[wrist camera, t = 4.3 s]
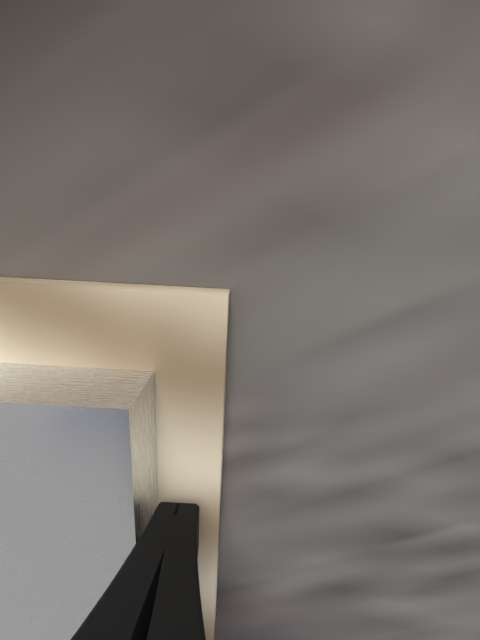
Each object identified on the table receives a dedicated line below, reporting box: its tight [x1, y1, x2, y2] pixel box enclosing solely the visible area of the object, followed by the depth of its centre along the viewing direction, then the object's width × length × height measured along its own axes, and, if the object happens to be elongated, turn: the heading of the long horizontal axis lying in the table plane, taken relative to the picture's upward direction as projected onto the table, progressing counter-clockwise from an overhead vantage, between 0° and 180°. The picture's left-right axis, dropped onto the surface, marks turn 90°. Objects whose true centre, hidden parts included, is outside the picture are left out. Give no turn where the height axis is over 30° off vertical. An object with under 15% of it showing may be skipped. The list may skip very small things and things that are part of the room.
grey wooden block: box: [0, 363, 158, 640], centre depth 9 cm, size 10×7×2 cm
